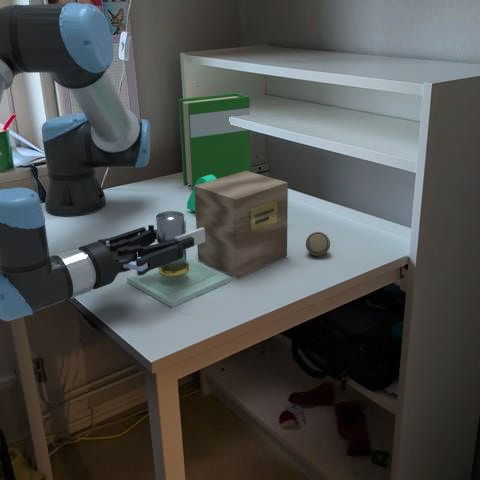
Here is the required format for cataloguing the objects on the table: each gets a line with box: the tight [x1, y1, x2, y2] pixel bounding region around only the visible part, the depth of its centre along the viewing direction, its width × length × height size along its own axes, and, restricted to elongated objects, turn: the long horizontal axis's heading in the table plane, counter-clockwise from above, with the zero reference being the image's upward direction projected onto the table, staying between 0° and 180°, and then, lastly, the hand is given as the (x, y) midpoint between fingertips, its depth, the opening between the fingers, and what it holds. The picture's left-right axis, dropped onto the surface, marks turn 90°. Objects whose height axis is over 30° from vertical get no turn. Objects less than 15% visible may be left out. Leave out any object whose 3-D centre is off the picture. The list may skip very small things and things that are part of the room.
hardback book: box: [178, 92, 252, 191], centre depth 167 cm, size 18×7×24 cm, turn 117°
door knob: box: [305, 231, 331, 257], centre depth 125 cm, size 5×5×5 cm
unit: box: [194, 171, 289, 279], centre depth 122 cm, size 13×14×16 cm
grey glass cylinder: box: [155, 210, 189, 277], centre depth 112 cm, size 6×6×11 cm
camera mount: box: [186, 175, 217, 212], centre depth 148 cm, size 12×8×10 cm, turn 47°
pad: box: [126, 256, 231, 308], centre depth 115 cm, size 14×14×1 cm
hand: (193, 230), depth 115 cm, fingers closed on grey glass cylinder, 5 cm apart
